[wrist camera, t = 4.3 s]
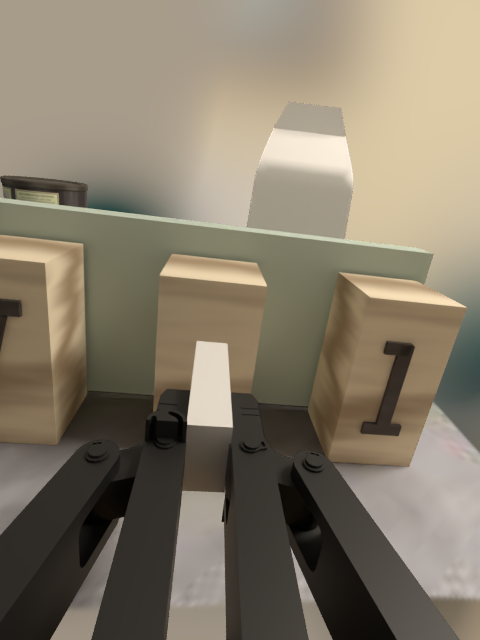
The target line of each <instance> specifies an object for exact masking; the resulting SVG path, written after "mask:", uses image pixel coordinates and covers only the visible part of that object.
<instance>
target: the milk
mask: <svg viewBox="0 0 480 640" xmlns="http://www.w3.org/2000/svg"><path fill="white" fill-rule="evenodd" d="M352 190H353V171H352V166H351V161H350V156H349V151H348V146H347V141H346V138H345V129H344V123H343V116H342V110H341V108H336V107H328V106H319V105H312V104H304V103H296V102H288V103H287V105H286V107H285V109H284V110H283V112H282V114H281V116H280V117H279V119H278V121H277V123H276V124H275V127H274V129H273V130H272V132H271V135H270V137H269V140H268V142H267V144H266V147H265V149H264V151H263V154H262V156H261V159H260V161H259V164H258V167H257V171H256V175H255V181H254V186H253V192H252V198H251V204H250V210H249V216H248V222H247V228H255V229H264V230H272V231H280V232H289V233H297V234H305V235H314V236H322V237H330V238H339V239H345V234H346V228H347V222H348V216H349V209H350V204H351V198H352V192H353V191H352Z"/></svg>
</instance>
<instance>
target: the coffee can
mask: <svg viewBox="0 0 480 640" xmlns="http://www.w3.org/2000/svg"><path fill="white" fill-rule="evenodd" d="M0 179H1V182H2V185H3V195H4V198H6V199H14V200H23V201H31V202H39V203H48V204H56V205H64V206H72V207H81V208H87V190H88V185H86V184H83V183H77V182H70V181H63V180H54V179H44V178H34V177H21V176H1V177H0Z"/></svg>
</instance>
